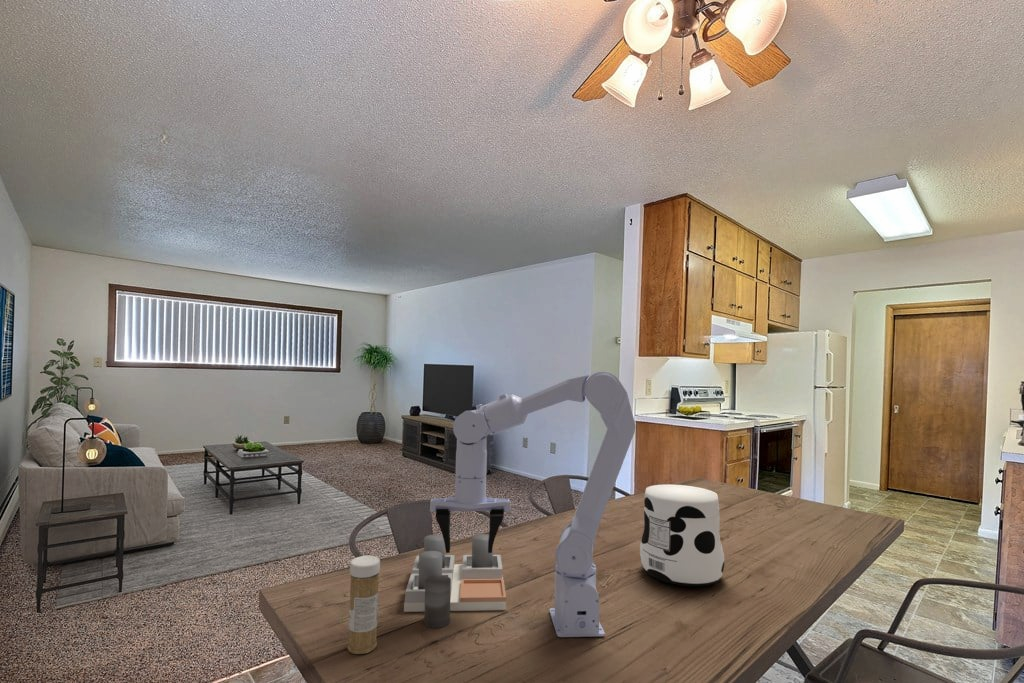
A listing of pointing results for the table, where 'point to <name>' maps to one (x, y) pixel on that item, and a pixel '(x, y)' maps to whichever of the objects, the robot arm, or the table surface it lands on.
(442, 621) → the dark gray cylinder
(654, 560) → the milk container
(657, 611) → the table surface
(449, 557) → the white cylinder holder tray
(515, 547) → the table surface
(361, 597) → the sprinkles bottle
